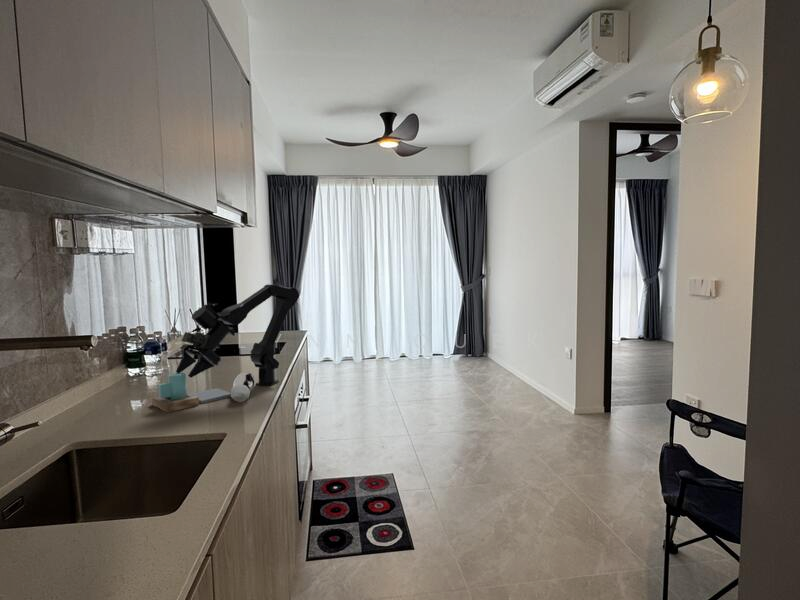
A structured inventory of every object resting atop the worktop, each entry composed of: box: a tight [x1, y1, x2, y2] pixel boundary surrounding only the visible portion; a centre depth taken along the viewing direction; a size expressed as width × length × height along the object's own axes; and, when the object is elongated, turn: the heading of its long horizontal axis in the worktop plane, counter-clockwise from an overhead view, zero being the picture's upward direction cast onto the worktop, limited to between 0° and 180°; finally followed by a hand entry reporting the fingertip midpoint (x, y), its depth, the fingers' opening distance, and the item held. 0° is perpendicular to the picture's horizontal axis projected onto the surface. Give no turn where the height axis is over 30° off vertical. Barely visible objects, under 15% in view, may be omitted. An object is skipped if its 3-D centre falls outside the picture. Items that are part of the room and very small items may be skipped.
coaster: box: [187, 387, 232, 405], centre depth 161 cm, size 11×11×1 cm
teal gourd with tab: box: [157, 372, 188, 401], centre depth 152 cm, size 8×5×10 cm, turn 139°
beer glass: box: [230, 371, 255, 403], centre depth 162 cm, size 7×7×15 cm
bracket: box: [151, 395, 200, 413], centre depth 152 cm, size 10×12×2 cm
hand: (183, 374), depth 154 cm, fingers open, 9 cm apart
